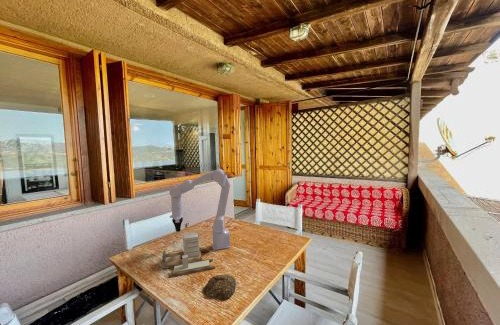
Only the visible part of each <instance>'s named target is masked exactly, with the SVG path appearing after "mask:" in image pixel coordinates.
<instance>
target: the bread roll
mask: <svg viewBox="0 0 500 325" xmlns="http://www.w3.org/2000/svg"><path fill="white" fill-rule="evenodd" d="M236 286H237V284H236V278H234V277H233V276H232V275H230V274H218V275H214V276H212V277H211V278H209V280H208V281H207V283H206V284H205V286H204V287H203V288H202V291H203V293H204V295H206V297H207V298H209V299H212V300H220V301H225V300H229V299H230V298H231V297H232V295H234V293H235V291H236V288H237V287H236Z"/></svg>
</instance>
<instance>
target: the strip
mask: <svg viewBox="0 0 500 325" xmlns="http://www.w3.org/2000/svg"><path fill="white" fill-rule="evenodd" d="M181 260H182V264H183V265H178V266H174V269H173V273H178V272H184V271H189V270H194V269H199V268H205V267H210V266H211V262H209V260H207V259H205V260H206V261H200V262H195V263H189V264H188V255H183V256H182V257H181Z"/></svg>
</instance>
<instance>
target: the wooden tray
mask: <svg viewBox="0 0 500 325" xmlns="http://www.w3.org/2000/svg"><path fill="white" fill-rule="evenodd" d="M200 250H201V249H200V247H199V257H194V258H188V263H190V262H196V261H202V260H203V259H202V252H200ZM183 255H184V250H181V251H175V252H169V253H166V250H163V251H162V257H161V258H162V259H161V260H162V263H161V264H162V267H161V268H162V270H164V269H170V266H174V265H179V264H182V259H181V258H182V256H183Z"/></svg>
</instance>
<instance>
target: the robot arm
mask: <svg viewBox="0 0 500 325" xmlns="http://www.w3.org/2000/svg"><path fill="white" fill-rule="evenodd" d="M212 180H213V181H214V182H215V183H217V184H218V185H219V186H220V188H221V189H220V195H219V201H218V205H217V211H216V215H215V219H214V220H213V224H212V227H211V229H212V243H211V247H212V250H213V251H219V250H223V249H224V250H225V249H229V248H231V241H230V240H231V236H230V231H229V229H226V228H225V224H226V222H225V215H226V214H225V213H226V209H227V205H228V200H229V199H228V198H229V193H230V189H231V183H230V180H229V178H228V176H227V173H226V172H225V171H224V169H222V168H216V169H215V170H211V171H207V172H206V173H204V174H202V175H200V176H198V177H197V178H195V179H193V180H191V179H185V180H184V181H183V182H181V183H177V184H176V185H175V186H173V187H171V188H170V189H169V196H170V198H171V199H170V202H171V215H170V216H169V218H172V220H171V222H172V223H173V225H174V229H175V232H176V233H179V232H180V233H181V228H182V222H183V221H184V218H183V217H184V211H183V197H182V194H183V195H184V194H185V193H188V192H190V191H192V190H194V188H195V186H197V185H199V184H200V183H203V182H206V181H212Z"/></svg>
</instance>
